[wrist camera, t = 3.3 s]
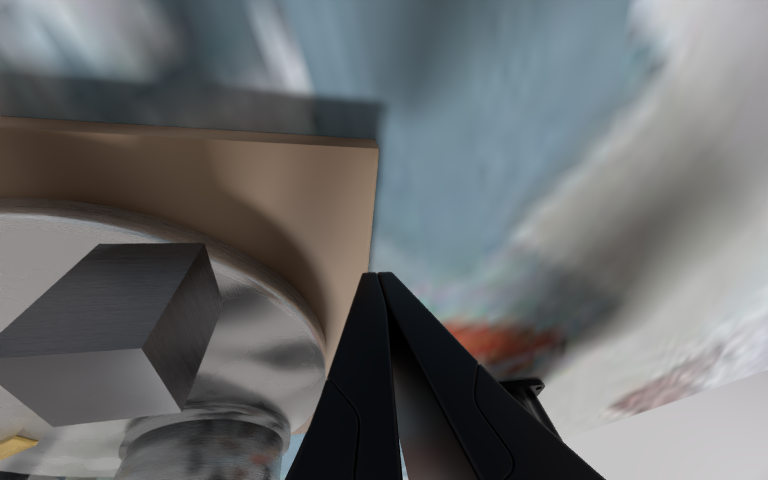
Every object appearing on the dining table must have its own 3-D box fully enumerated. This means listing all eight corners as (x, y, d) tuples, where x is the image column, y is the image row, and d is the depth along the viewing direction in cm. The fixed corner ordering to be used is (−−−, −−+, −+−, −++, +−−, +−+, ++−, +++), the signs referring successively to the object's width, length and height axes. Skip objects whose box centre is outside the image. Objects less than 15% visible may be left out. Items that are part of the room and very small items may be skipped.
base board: (374, 139, 9) (380, 150, 8) (351, 410, 20) (353, 429, 19) (-554, 81, 6) (-733, 91, 5) (24, 452, 16) (5, 477, 15)
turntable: (323, 202, 9) (320, 316, 5) (327, 423, 18) (327, 524, 14) (-436, 189, 6) (-1682, 436, 2) (23, 463, 15) (-78, 605, 11)
